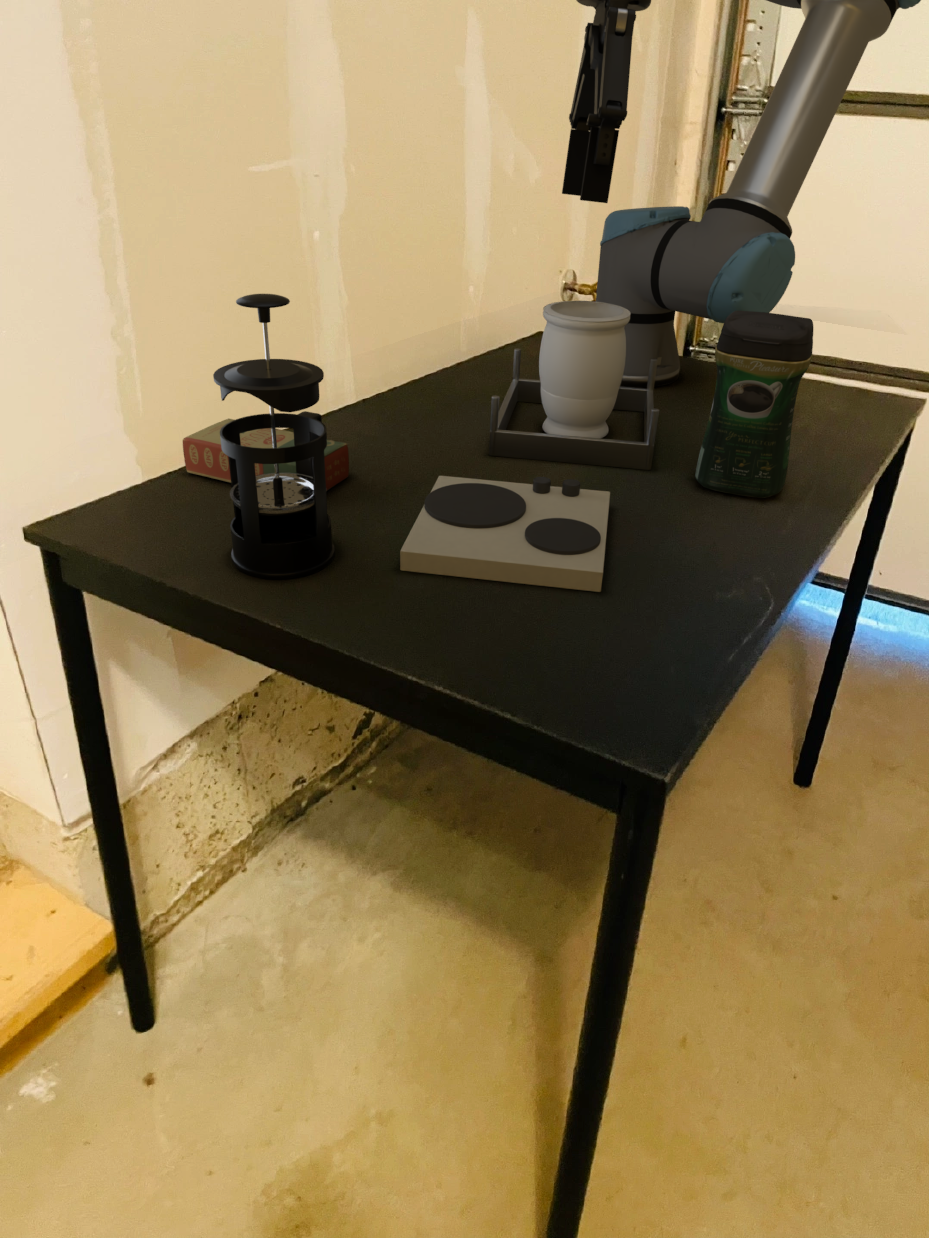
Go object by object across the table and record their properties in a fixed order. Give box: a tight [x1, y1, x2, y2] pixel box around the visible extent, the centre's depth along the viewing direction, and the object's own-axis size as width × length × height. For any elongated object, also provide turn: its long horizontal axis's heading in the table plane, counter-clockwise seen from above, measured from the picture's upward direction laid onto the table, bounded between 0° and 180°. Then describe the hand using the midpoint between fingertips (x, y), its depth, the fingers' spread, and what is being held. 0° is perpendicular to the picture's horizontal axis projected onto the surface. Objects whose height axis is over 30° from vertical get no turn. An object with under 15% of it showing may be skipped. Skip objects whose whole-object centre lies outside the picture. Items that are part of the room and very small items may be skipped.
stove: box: [399, 475, 611, 593], centre depth 88 cm, size 18×18×3 cm
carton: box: [182, 418, 350, 492], centre depth 99 cm, size 8×16×4 cm, turn 65°
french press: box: [212, 293, 336, 580], centre depth 78 cm, size 12×9×23 cm
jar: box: [538, 300, 631, 439], centre depth 111 cm, size 11×10×15 cm
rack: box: [488, 347, 660, 471], centre depth 113 cm, size 22×19×7 cm
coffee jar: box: [694, 310, 814, 499], centre depth 97 cm, size 10×8×19 cm
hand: (583, 198), depth 98 cm, fingers open, 13 cm apart
